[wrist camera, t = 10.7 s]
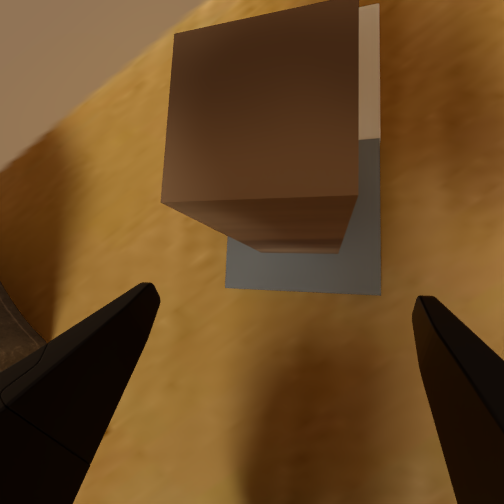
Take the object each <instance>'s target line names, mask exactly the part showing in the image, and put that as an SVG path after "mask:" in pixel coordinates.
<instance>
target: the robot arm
mask: <svg viewBox="0 0 504 504" xmlns="http://www.w3.org/2000/svg"><path fill="white" fill-rule="evenodd" d="M159 305H160V296H159V294H158V292H157V290H156V288H155V286H154V285H153V284H152V283H147V282H142V283H140V284H138V285H137V286H135V287H134V288H132V289H130V290H129V291H127V292H126V293H124V294H123V295H121V296H120V297H118V298H116V299H115V300H113V301H112V302H110V303H109V304H107V305H106V306H104V307H103V308H101V309H99V310H98V311H96V312H95V313H93V314H92V315H90V316H89V317H87V318H86V319H84V320H82V321H81V322H79V323H78V324H76V325H75V326H73V327H72V328H70V329H68V330H67V331H65V332H64V333H62V334H61V335H59V336H58V337H56V338H55V339H53V340H51V341H50V342H49V343H47V344H45V345H44V346H42V347H41V348H39V349H37V350H36V351H34V352H33V353H31V354H30V355H28V356H26V357H25V358H23V359H22V360H20V361H18V362H17V363H15V364H13V365H12V366H10V367H8V368H7V369H5V370H3V371H1V372H0V504H73V502H74V500H75V497H76V495H77V493H78V491H79V489H80V486H81V484H82V482H83V480H84V478H85V476H86V473H87V471H88V469H89V467H90V464H91V462H92V460H93V458H94V456H95V453H96V451H97V449H98V447H99V445H100V443H101V440H102V438H103V436H104V434H105V432H106V429H107V427H108V425H109V423H110V421H111V419H112V416H113V414H114V412H115V410H116V408H117V405H118V403H119V401H120V399H121V397H122V395H123V392H124V390H125V388H126V386H127V384H128V381H129V379H130V377H131V375H132V373H133V371H134V368H135V366H136V364H137V362H138V360H139V357H140V355H141V353H142V351H143V349H144V347H145V344H146V342H147V340H148V337H149V334H150V332H151V329H152V326H153V323H154V320H155V317H156V314H157V311H158V308H159ZM412 323H413V330H414V336H415V343H416V350H417V356H418V362H419V368H420V372H421V376H422V380H423V384H424V387H425V391H426V394H427V398H428V401H429V405H430V408H431V412H432V415H433V419H434V423H435V426H436V430H437V433H438V437H439V440H440V444H441V447H442V451H443V454H444V458H445V461H446V465H447V468H448V472H449V476H450V479H451V483H452V486H453V490H454V493H455V497H456V500H457V504H504V360H503V359H501V358H500V357H499V356H498V355H497V354H496V353H495V352H494V351H493V350H492V349H491V348H490V347H489V346H487V345H486V344H485V343H484V342H483V341H482V340H481V339H480V338H479V337H478V336H477V335H476V334H475V333H473V332H472V331H471V330H470V329H469V328H468V327H467V326H466V325H465V324H464V323H463V322H462V321H460V320H459V319H458V318H457V317H456V316H455V315H454V314H453V313H452V312H451V311H450V310H449V309H448V308H446V307H445V306H444V305H443V304H442V303H441V302H440V301H439V300H438V299H437V298H435V297H434V296H418V297H417V299H416V303H415V306H414V310H413V313H412Z"/></svg>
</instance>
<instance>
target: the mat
mask: <svg viewBox="0 0 504 504" xmlns="http://www.w3.org/2000/svg"><path fill="white" fill-rule="evenodd" d="M225 288H238V289H258V290H279V291H299V292H320V293H340V294H361V295H381V239H380V138H375V139H364V140H359V172H358V198H357V201H356V204H355V206H354V209H353V212H352V215H351V218H350V221H349V224H348V227H347V230H346V232H345V235H344V238H343V241H342V244H341V247H340V250H339V253H338V254H313V253H261V252H259V251H257V250H255V249H253V248H251V247H249V246H247V245H245V244H243V243H241V242H239V241H237V240H235V239H233V238H231V237H229V236H228V242H227V261H226V280H225Z"/></svg>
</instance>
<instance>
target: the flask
mask: <svg viewBox="0 0 504 504" xmlns="http://www.w3.org/2000/svg"><path fill="white" fill-rule="evenodd" d="M45 344H47V343H46V341H45V340H44V339H43V338H42V337H41V336H40V335H39V334H38V333H37V332H36V331H35V330H34V329H33V328H32V327H31V326H30V325H29V323H28V322H27V321H26V320H25V318H24V317H23V316H22V315H21V313H20V312H19V310H18V309H17V308H16V306H15V305H14V303H13V302H12V300H11V299H10V297H9V295H8V294H7V292H6V291H5V289H4V287H3V285H2V284H1V282H0V372H1V371H3V370H5V369H7V368H8V367H10V366H12V365H13V364H15V363H17V362H18V361H20V360H22V359H23V358H25V357H26V356H28V355H30V354H31V353H33V352H34V351H36V350H37V349H39V348H41V347H42V346H44V345H45Z"/></svg>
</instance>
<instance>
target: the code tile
mask: <svg viewBox="0 0 504 504" xmlns="http://www.w3.org/2000/svg"><path fill="white" fill-rule="evenodd" d="M375 138H380V26H379V3H377V4H373V5H368V6H363V7H359V140H364V139H375Z"/></svg>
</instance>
